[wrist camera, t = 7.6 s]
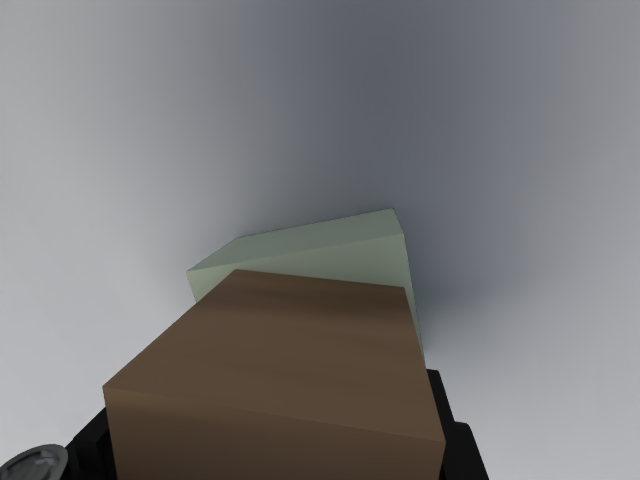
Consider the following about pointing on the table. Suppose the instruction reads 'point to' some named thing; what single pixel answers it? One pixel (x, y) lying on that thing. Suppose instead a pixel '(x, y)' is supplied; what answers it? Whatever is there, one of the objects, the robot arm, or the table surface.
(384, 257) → the sage block
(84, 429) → the robot arm
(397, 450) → the walnut cube
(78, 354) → the table surface
